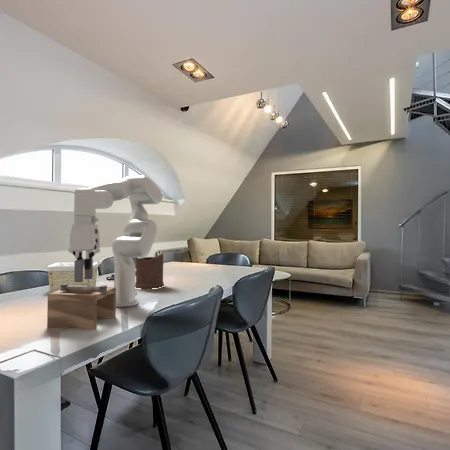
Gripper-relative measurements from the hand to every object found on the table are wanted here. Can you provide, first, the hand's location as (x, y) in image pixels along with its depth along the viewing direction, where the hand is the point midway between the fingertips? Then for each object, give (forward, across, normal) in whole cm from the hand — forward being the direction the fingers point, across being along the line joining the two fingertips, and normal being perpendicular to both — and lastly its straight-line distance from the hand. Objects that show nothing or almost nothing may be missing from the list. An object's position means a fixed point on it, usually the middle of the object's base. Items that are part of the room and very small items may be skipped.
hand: (83, 268), depth 120 cm
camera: (+21, +34, -86) cm, 95 cm away
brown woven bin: (+20, +4, -69) cm, 72 cm away
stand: (+20, 0, 0) cm, 20 cm away
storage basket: (+20, +41, -54) cm, 71 cm away
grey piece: (+5, 0, 0) cm, 5 cm away
